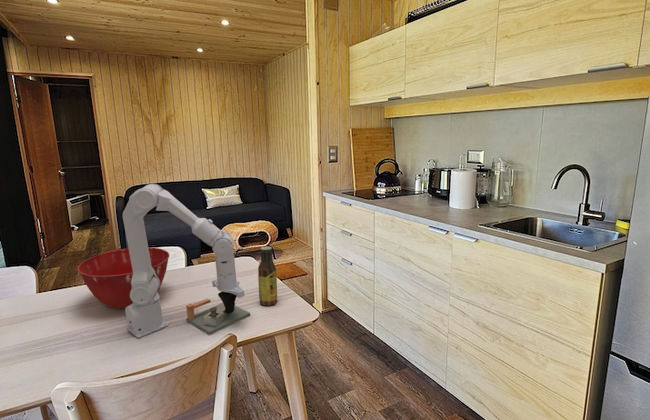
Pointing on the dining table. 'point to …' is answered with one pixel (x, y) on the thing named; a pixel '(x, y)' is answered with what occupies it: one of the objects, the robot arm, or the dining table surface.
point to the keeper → (191, 307)
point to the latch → (219, 316)
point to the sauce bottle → (267, 278)
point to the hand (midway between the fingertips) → (230, 312)
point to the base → (223, 324)
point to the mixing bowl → (117, 275)
